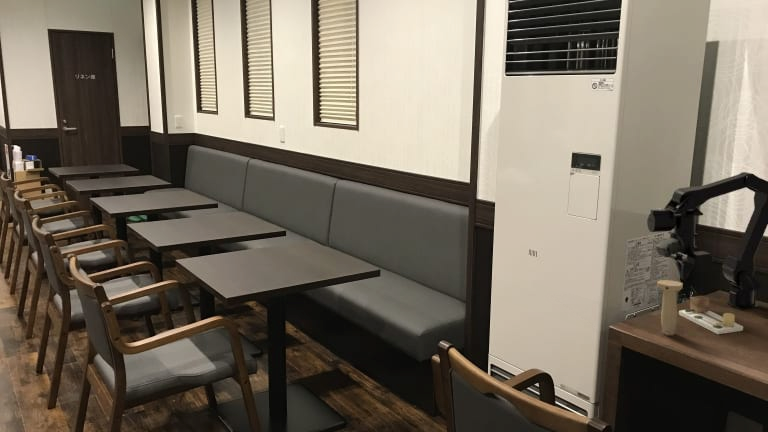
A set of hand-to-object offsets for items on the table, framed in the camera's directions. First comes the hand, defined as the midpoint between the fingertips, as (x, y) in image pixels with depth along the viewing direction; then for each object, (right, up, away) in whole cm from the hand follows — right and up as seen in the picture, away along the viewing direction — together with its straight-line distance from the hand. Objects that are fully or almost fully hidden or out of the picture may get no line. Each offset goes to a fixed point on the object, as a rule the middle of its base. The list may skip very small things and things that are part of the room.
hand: (683, 279), depth 188 cm
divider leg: (+1, -9, -5) cm, 10 cm away
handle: (-12, -14, -16) cm, 25 cm away
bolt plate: (+3, -12, -10) cm, 16 cm away
